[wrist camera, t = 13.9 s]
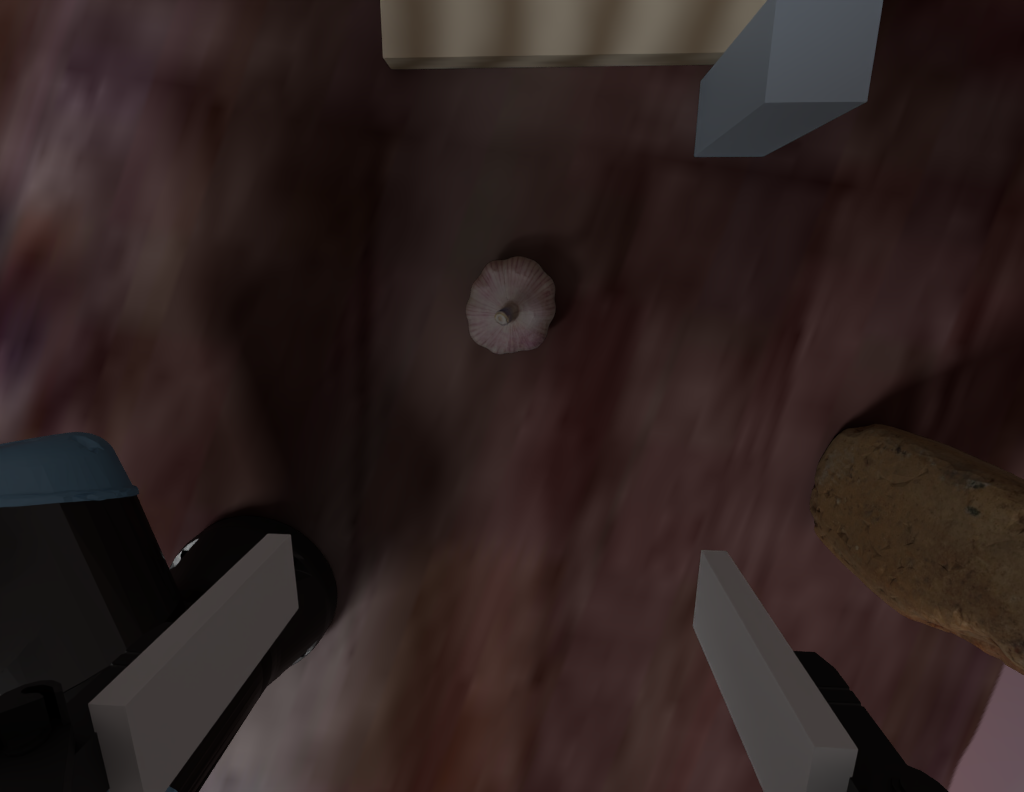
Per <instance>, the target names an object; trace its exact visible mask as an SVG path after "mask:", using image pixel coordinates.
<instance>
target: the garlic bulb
mask: <svg viewBox="0 0 1024 792" xmlns="http://www.w3.org/2000/svg"><path fill="white" fill-rule="evenodd" d="M555 309H556V305H555V284H554V282H553V280H552V279H551V277H550V276H548V275H547V274H546V273H545V272H544V271H543V270H542V268H541V266H540V265H539V264H538V263H537V262H535V261H533V260H531V259H528V258H525V257H521V256H515V257H511V258H509V259H506V260H495V261H491V262H490V263H488V264H487V265H486V266H485V267H484V269H483V271H482V273H481V274H480V276H479V277H478V278H477V279H476V280H475V281H474V283H473V284H472V287H471V296H470V299H469V301H468V303H467V306H466V316H467V318H468V322H469V333H470V335H471V337H472V339H473V340H474V341H475V342H476V343H477V344H479V345H481V346H483V347H486V348H488V349H489V350H490V351H491V352H493V353H496V354H505V353H515V352H517V351H522V350H531V349H534V348H537V347H538V346H539V345H541V343H542V342H543V341H544V340H545V338H546V336H547V331H548V327H549V324H550V322H551V321H552V319H553V317H554V315H555Z"/></svg>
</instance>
